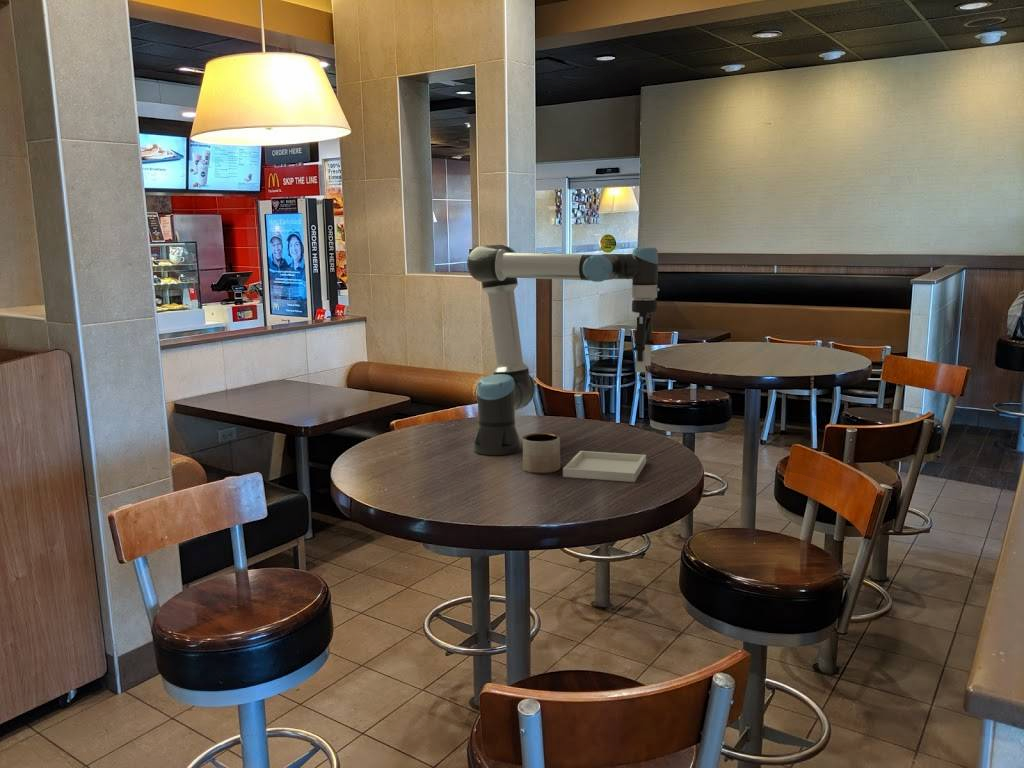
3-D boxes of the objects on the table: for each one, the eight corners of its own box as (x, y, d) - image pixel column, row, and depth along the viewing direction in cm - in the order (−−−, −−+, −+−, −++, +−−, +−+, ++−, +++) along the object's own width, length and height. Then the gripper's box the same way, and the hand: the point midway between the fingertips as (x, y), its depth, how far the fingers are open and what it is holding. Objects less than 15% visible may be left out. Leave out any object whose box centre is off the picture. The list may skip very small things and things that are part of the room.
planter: (516, 472, 225) (515, 439, 223) (533, 462, 234) (532, 431, 233) (550, 476, 220) (550, 443, 218) (566, 466, 229) (566, 434, 228)
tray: (563, 476, 219) (562, 468, 219) (580, 458, 238) (579, 450, 237) (634, 482, 213) (634, 473, 212) (646, 462, 231) (646, 454, 231)
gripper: (651, 302, 224) (650, 375, 227) (662, 296, 247) (660, 363, 251) (625, 301, 226) (624, 374, 230) (638, 296, 249) (637, 362, 253)
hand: (643, 368), depth 240 cm, fingers open, 13 cm apart
